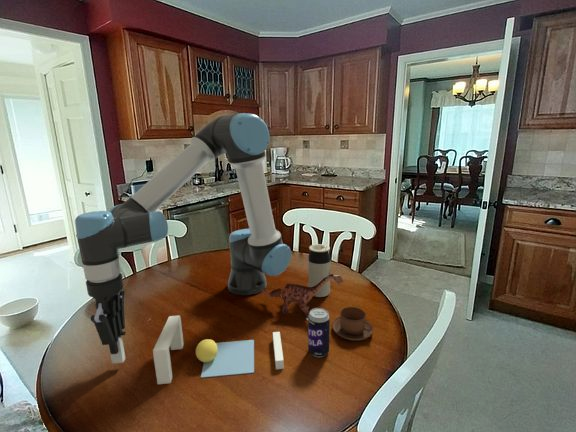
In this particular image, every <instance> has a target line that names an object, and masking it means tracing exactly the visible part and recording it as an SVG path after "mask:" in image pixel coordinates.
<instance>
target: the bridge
mask: <svg viewBox="0 0 576 432" xmlns="http://www.w3.org/2000/svg"><path fill="white" fill-rule="evenodd" d="M184 344H185V343H184V336H183V328H182V318H181V315H169V316H168V318H167V320H166V323H165V325H164V326H163V328H162V331H161V332H160V334H159V337H158V339H157V341H156V343H155V345H154V348H153V349H152V353H153V355H152V357H153V362H154V363H153V364H154V368H155V377H156V384H157V385H163V384H164V385H165V384H171V383H172V381H173V370H172V362H171V355H170V354H171V353H170V350H171V351H175V350H182V349H183V348H184Z"/></svg>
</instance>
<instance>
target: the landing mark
mask: <svg viewBox="0 0 576 432" xmlns="http://www.w3.org/2000/svg"><path fill="white" fill-rule="evenodd" d="M215 343H216V344H217V347H218V352H217V355H216V357H215V358H214V359H213V360H212V361H210V362H203V366H202V371H201V375H200V378H201V379H202V378H204V379H205V378H214V377H224V376H234V375H235V376H236V375H247V374H255V340H254V339H248V340H247V339H246V340H245V339H244V340H236V341H225V342H224V341H222V342H215Z"/></svg>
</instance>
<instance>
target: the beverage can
mask: <svg viewBox="0 0 576 432" xmlns="http://www.w3.org/2000/svg"><path fill="white" fill-rule="evenodd" d="M330 319H331V318H330V315H329V311H328V310H327V309H325V308H322V307H314V308H312V309H310V311H309V315H308V320H307V331H308V332H307V339H308V340H307V350H308V352H309V353H310V354H311V355H312V356H313V357H315V358H323V357H325V356H327V355H328V354H329V352H330V331H331V330H330V328H331V327H330V322H331V320H330Z"/></svg>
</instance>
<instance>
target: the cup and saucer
mask: <svg viewBox="0 0 576 432" xmlns="http://www.w3.org/2000/svg"><path fill="white" fill-rule="evenodd" d="M331 326H332V329H333V332H335V334H336V335H338V336H339V337H341V338H343V339H345V340H349V341H362V340H366V339H368V338H369V337H371V336H372V334H373V332H374V326H373V324H372V322H371V321H369V320H368V319H367V318H366V312H365V311H364V310H363V309H361V308H359V307H354V306H350V307H349V306H348V307H344V308H342V309H341V311H340V316H338V317H336V318H335V319H334V320H333V321H332V325H331Z"/></svg>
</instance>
